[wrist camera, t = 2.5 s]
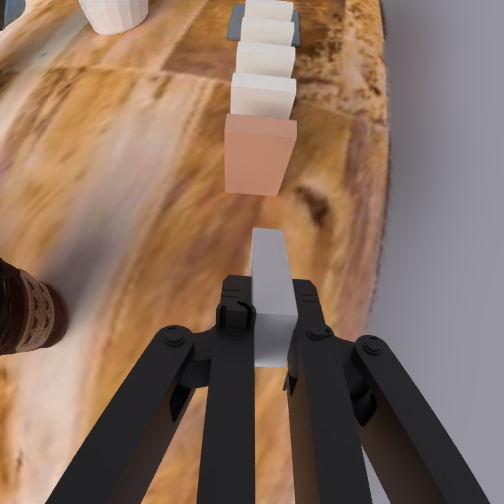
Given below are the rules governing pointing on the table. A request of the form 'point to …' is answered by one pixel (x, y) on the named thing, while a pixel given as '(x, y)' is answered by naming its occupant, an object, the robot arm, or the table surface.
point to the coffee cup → (29, 312)
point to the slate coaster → (236, 23)
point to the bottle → (114, 14)
